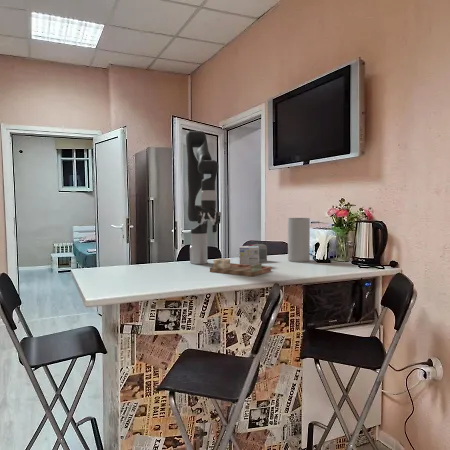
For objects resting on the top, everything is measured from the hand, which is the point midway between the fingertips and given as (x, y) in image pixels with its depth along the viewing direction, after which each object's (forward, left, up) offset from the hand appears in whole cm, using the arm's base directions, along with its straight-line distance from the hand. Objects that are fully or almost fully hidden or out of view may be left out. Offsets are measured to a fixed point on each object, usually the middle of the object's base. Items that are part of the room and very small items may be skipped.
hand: (208, 232), depth 204 cm
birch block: (+8, 0, -18) cm, 19 cm away
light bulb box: (+11, +22, -20) cm, 31 cm away
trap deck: (+16, +5, -20) cm, 26 cm away
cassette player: (+5, +37, -20) cm, 42 cm away
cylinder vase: (+26, +53, -20) cm, 62 cm away
